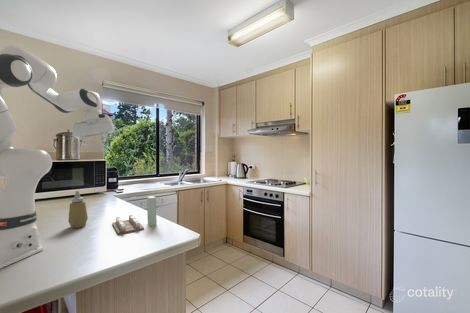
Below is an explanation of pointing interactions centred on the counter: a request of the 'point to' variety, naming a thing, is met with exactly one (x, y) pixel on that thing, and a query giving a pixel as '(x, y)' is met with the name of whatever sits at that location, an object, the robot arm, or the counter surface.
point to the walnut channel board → (127, 225)
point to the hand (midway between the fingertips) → (94, 142)
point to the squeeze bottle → (77, 212)
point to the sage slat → (151, 210)
